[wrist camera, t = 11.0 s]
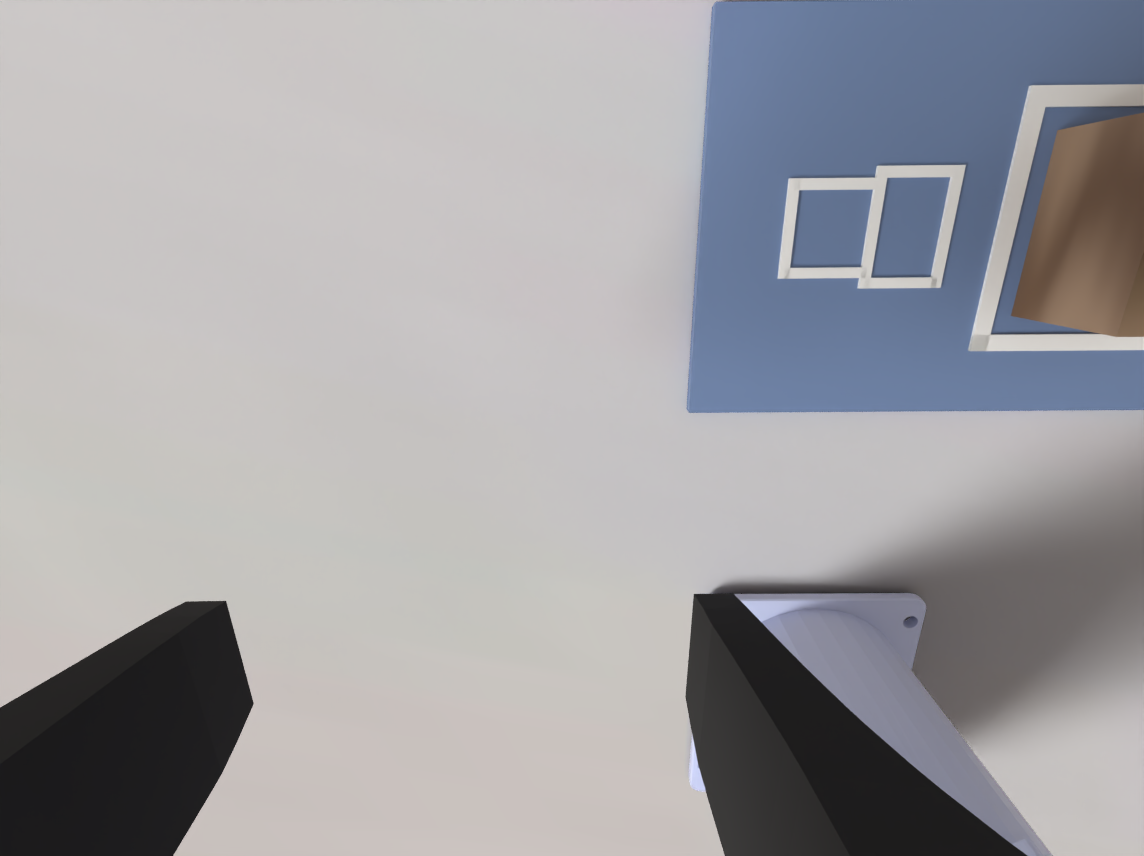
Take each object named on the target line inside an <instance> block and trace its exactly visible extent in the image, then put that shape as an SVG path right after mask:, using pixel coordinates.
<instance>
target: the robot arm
mask: <svg viewBox="0 0 1144 856" xmlns="http://www.w3.org/2000/svg"><path fill="white" fill-rule="evenodd" d="M925 613H926V604H925V602H924V601H923V600H922V599H921V598H920V597H919V596H918V595H916V594H912V593H833V594H694V600H693V613H692V625H691V637H690V649H689V661H688V674H687V686H686V701H687V707H688V713H689V718H690V724H691V729H692V741H691V753H690V765H689V780H690V785H691V787H692V788H693V789H695V790H697V791H706V793H707V797H708V800H709V803H710V807H711V810H712V814H713V817H714V821H715V824H716V827H717V831H718V834H719V837H720V841H721V844H722V847H723V851H724V854H725V856H1053V855H1052V854H1051V853H1050V851H1049V850H1048V849H1047V847H1046V846H1045V845H1044V843H1043V842H1042V841H1041V839H1040V838H1039V837H1038V836H1037V834H1036V833H1035V832H1034V830H1033V829H1032V828H1031V826H1030V825H1029V824H1028V822H1027V821H1026V820H1025V819H1024V817H1023V816H1022V815H1021V813H1020V812H1019V811H1018V809H1017V808H1016V807H1015V805H1014V804H1013V803H1012V802H1011V800H1010V799H1009V798H1008V796H1007V795H1006V794H1005V792H1004V791H1003V790H1002V788H1001V787H1000V786H999V785H998V783H997V782H996V781H995V779H994V778H993V777H992V775H991V774H990V773H989V771H988V770H987V769H986V768H985V766H984V765H983V764H982V762H981V761H980V760H979V758H978V757H977V756H976V754H975V753H974V752H973V750H972V749H971V748H970V747H969V745H968V744H967V743H966V741H965V740H964V739H963V737H962V736H961V735H960V733H959V732H958V731H957V730H956V728H955V727H954V726H953V724H952V723H951V722H950V720H949V719H948V718H947V716H946V715H945V714H944V713H943V711H942V710H941V709H940V707H939V706H938V705H937V703H936V702H935V701H934V699H933V698H932V697H931V696H930V694H929V693H928V692H927V690H926V689H925V688H924V686H923V685H922V684H921V682H920V681H919V680H918V679H917V677H916V676H915V675H914V673H913V672H912V666H913V662H914V658H915V654H916V650H917V646H918V642H919V638H920V634H921V629H922V625H923V621H924V617H925ZM910 616H911V617H910ZM907 617H910V618H909V619H908V620H906V621H904V620H905V619H906V618H907ZM253 704H254V703H253V700H252V696H251V692H250V689H249V685H248V681H247V677H246V674H245V670H244V666H243V663H242V659H241V655H240V651H239V648H238V644H237V640H236V637H235V633H234V629H233V625H232V622H231V618H230V614H229V611H228V607H227V603H226V601H199V602H185V603H183V604H181V605H179V606H177V607H175V608H173V609H171V610H169V611H167V612H165V613H163V614H161V615H159V616H157V617H155V618H154V619H152V620H150V621H148V622H146V623H145V624H143V625H141V626H139V627H138V628H136V629H134V630H132V631H131V632H129V633H127V634H125V635H124V636H122V637H120V638H119V639H117V640H115V641H113V642H112V643H110V644H108V645H107V646H105V647H103V648H101V649H100V650H98V651H96V652H95V653H93V654H91V655H90V656H88V657H86V658H84V659H83V660H81V661H79V662H78V663H76V664H74V665H72V666H71V667H69V668H67V669H66V670H64V671H62V672H60V673H59V674H57V675H55V676H54V677H52V678H50V679H49V680H47V681H45V682H43V683H42V684H40V685H38V686H37V687H35V688H33V689H31V690H30V691H28V692H26V693H25V694H23V695H21V696H19V697H18V698H16V699H14V700H13V701H11V702H9V703H7V704H6V705H4V706H2V707H0V856H173V855H174V853H175V851H176V850H177V848H178V846H179V845H180V843H181V841H182V840H183V838H184V836H185V835H186V833H187V831H188V830H189V828H190V826H191V825H192V823H193V821H194V820H195V818H196V816H197V815H198V813H199V811H200V810H201V808H202V806H203V805H204V803H205V801H206V800H207V798H208V796H209V795H210V793H211V791H212V790H213V788H214V786H215V784H216V783H217V781H218V779H219V777H220V776H221V774H222V772H223V770H224V768H225V766H226V764H227V762H228V759H229V757H230V755H231V753H232V751H233V749H234V747H235V745H236V743H237V741H238V738H239V736H240V734H241V731H242V729H243V727H244V724H245V722H246V720H247V718H248V715H249V713H250V711H251V708H252V706H253Z"/></svg>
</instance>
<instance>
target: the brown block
mask: <svg viewBox="0 0 1144 856" xmlns="http://www.w3.org/2000/svg"><path fill="white" fill-rule="evenodd" d="M1011 316H1014V317H1019V318H1024V319H1029V320H1034V321H1039V322H1044V323H1049V324H1054V325H1059V326H1064V327H1069V328H1074V329H1079V330H1084V331H1089V332H1094V333H1099V334H1104V335H1109V336H1114V337H1144V113H1139V114H1134V115H1129V116H1124V117H1119V118H1115V119H1110V120H1105V121H1100V122H1095V123H1090V124H1085V125H1080V126H1075V127H1071V128H1066V129H1061V130H1057V134H1056V138H1055V142H1054V146H1053V150H1052V154H1051V158H1050V162H1049V166H1048V170H1047V174H1046V178H1045V182H1044V186H1043V190H1042V194H1041V198H1040V202H1039V206H1038V210H1037V214H1036V218H1035V222H1034V226H1033V230H1032V234H1031V238H1030V242H1029V246H1028V250H1027V253H1026V257H1025V261H1024V265H1023V269H1022V273H1021V277H1020V281H1019V285H1018V289H1017V293H1016V297H1015V301H1014V305H1013V309H1012V313H1011Z"/></svg>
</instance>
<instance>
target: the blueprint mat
mask: <svg viewBox="0 0 1144 856" xmlns="http://www.w3.org/2000/svg"><path fill="white" fill-rule="evenodd" d="M1139 113H1144V0H829V1H735V2H715V4H714V5H713V7H712V18H711V33H710V49H709V65H708V81H707V97H706V112H705V128H704V144H703V160H702V175H701V191H700V207H699V223H698V238H697V254H696V270H695V286H694V301H693V317H692V333H691V349H690V364H689V380H688V396H687V410H688V412H689V413H719V412H876V411H1034V410H1144V337H1114V336H1109V335H1104V334H1099V333H1094V332H1089V331H1084V330H1079V329H1074V328H1069V327H1064V326H1059V325H1054V324H1049V323H1044V322H1039V321H1034V320H1029V319H1024V318H1019V317H1014V316H1011V313H1012V309H1013V305H1014V301H1015V297H1016V293H1017V289H1018V285H1019V281H1020V277H1021V273H1022V269H1023V265H1024V261H1025V257H1026V253H1027V250H1028V246H1029V242H1030V238H1031V234H1032V230H1033V226H1034V222H1035V218H1036V214H1037V210H1038V206H1039V202H1040V198H1041V194H1042V190H1043V186H1044V182H1045V178H1046V174H1047V170H1048V166H1049V162H1050V158H1051V154H1052V150H1053V146H1054V142H1055V138H1056V134H1057V130H1061V129H1066V128H1071V127H1075V126H1080V125H1085V124H1090V123H1095V122H1100V121H1105V120H1110V119H1115V118H1119V117H1124V116H1129V115H1134V114H1139Z"/></svg>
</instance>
